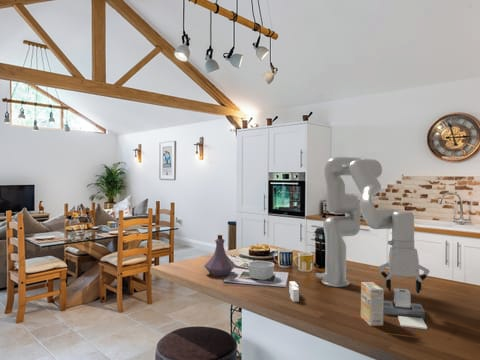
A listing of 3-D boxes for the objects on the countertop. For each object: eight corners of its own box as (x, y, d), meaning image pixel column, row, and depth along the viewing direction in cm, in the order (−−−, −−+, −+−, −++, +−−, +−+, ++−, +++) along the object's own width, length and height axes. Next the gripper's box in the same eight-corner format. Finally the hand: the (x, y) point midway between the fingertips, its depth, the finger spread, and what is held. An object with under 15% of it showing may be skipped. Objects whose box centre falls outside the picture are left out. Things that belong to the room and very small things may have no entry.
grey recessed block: (382, 315, 133) (382, 307, 133) (380, 307, 140) (380, 300, 140) (424, 320, 128) (424, 311, 128) (420, 312, 136) (420, 303, 136)
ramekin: (278, 276, 183) (279, 262, 183) (266, 283, 172) (266, 268, 172) (256, 272, 190) (256, 259, 190) (242, 278, 179) (243, 264, 179)
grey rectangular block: (395, 314, 133) (395, 292, 133) (393, 309, 137) (394, 288, 137) (410, 315, 131) (410, 293, 131) (408, 310, 136) (408, 289, 136)
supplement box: (359, 318, 130) (360, 281, 130) (372, 317, 131) (373, 281, 130) (370, 327, 122) (370, 289, 122) (383, 327, 122) (384, 288, 122)
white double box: (288, 291, 162) (288, 278, 161) (312, 295, 155) (312, 282, 155) (272, 300, 149) (272, 287, 149) (298, 306, 143) (298, 292, 143)
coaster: (400, 327, 122) (401, 324, 122) (397, 318, 130) (397, 315, 130) (427, 330, 120) (427, 327, 120) (422, 321, 127) (422, 318, 127)
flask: (217, 268, 199) (217, 231, 199) (241, 272, 189) (242, 234, 189) (197, 274, 186) (197, 235, 185) (222, 280, 176) (222, 239, 176)
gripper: (378, 245, 133) (379, 292, 133) (431, 247, 128) (431, 296, 128) (377, 242, 140) (377, 286, 140) (426, 244, 135) (427, 290, 135)
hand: (403, 291), depth 134 cm, fingers open, 9 cm apart
